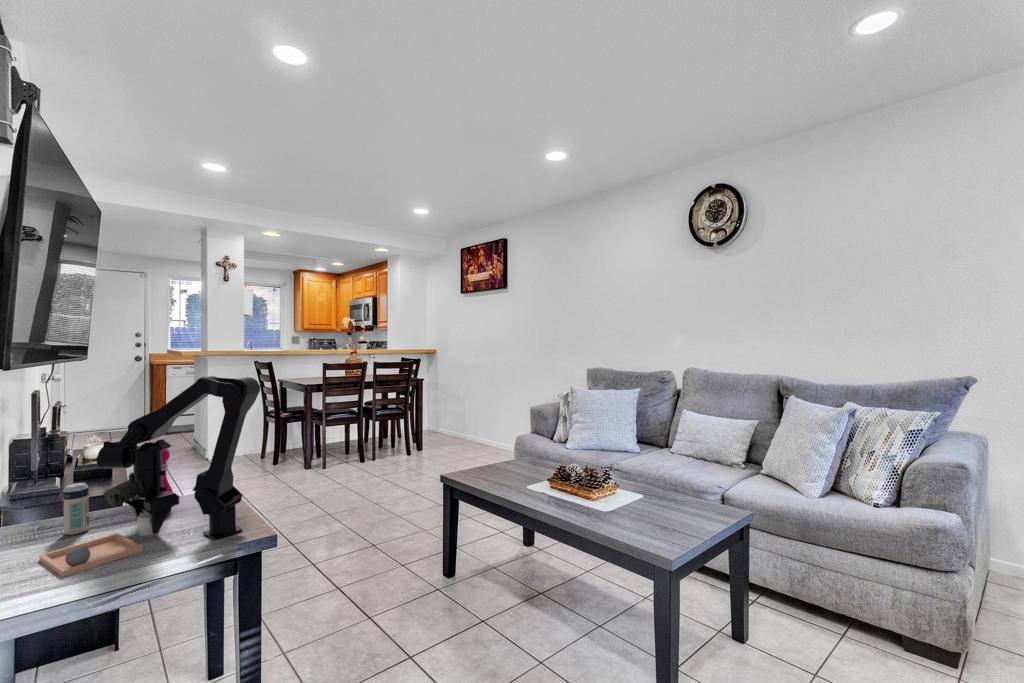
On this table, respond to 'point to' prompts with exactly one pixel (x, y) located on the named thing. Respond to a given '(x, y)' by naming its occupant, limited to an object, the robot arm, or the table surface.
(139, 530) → the cylinder
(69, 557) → the mixing ball
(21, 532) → the table surface
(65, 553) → the tray
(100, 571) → the table surface
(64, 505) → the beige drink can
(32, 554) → the table surface
